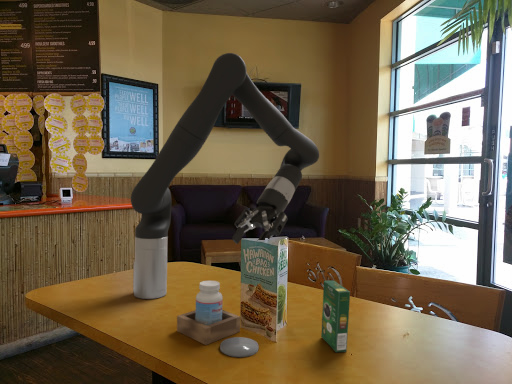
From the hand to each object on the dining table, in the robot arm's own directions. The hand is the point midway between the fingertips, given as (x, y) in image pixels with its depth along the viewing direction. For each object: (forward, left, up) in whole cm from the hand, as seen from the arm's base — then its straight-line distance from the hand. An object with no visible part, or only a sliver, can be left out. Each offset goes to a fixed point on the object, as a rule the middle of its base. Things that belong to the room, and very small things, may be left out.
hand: (246, 243), depth 97 cm
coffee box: (+24, +3, -19) cm, 31 cm away
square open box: (0, -12, -19) cm, 22 cm away
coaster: (+11, -13, -19) cm, 26 cm away
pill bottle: (0, -12, -19) cm, 23 cm away
